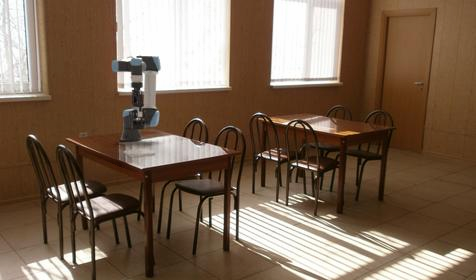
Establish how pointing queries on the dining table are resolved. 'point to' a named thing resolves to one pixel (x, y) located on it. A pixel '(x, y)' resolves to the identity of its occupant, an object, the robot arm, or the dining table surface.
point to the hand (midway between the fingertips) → (137, 115)
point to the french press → (142, 119)
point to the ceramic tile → (139, 153)
